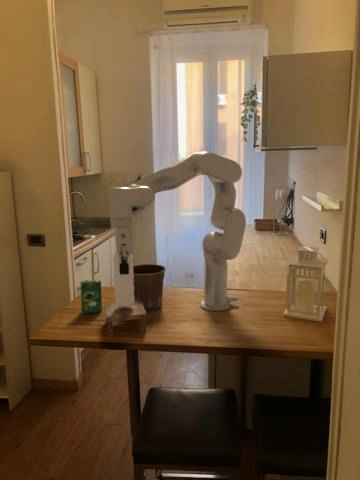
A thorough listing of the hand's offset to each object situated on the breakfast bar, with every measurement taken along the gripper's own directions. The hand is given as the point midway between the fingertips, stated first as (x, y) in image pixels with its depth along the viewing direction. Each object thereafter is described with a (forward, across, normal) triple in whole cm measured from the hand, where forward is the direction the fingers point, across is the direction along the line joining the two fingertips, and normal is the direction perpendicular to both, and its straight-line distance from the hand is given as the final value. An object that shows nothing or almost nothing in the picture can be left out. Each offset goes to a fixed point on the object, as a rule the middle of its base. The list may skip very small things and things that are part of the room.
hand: (123, 270), depth 138 cm
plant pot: (+22, +20, -11) cm, 31 cm away
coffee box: (+22, +17, +12) cm, 30 cm away
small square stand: (+21, 0, 0) cm, 21 cm away
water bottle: (+13, 0, 0) cm, 13 cm away
